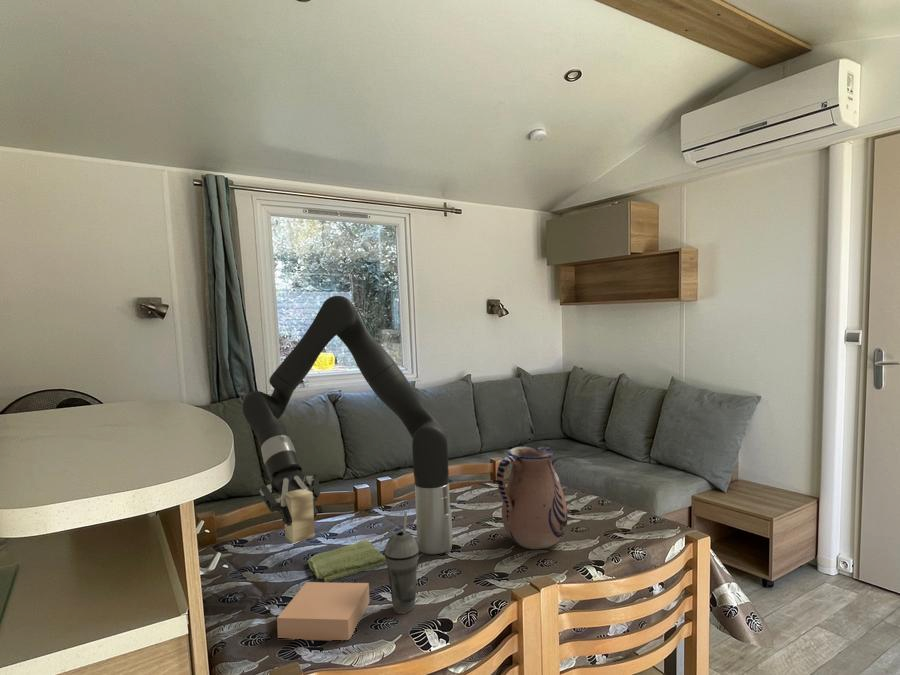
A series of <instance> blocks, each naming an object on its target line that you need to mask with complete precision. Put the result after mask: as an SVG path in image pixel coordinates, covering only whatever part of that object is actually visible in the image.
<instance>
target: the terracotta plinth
mask: <svg viewBox="0 0 900 675" xmlns="http://www.w3.org/2000/svg"><path fill="white" fill-rule="evenodd" d="M369 604H370V583H369V582H325V581H324V582H318V581H316V582H315V581H314V582H313V581H309V582H308V581H306V582H305V583H304V585H303V586H302V587H301V588H300V589H299V591H298V592H297V593H296V594H295V596H294V597H293V598H292V599H291V600H290V601H289V603H288V604H287V605H286V606H285V608H284V609H283V610H282V611H281V612H280V614H279V615H278V616H277V617H276V625H277V628H276V629H277V639H278V638H289V639H288V640H295V639H302V640H303V639H304V640H305V641H329V642H330V641H332V640H342V641H341V642H344V641H343V640H349V639H350V640H351V638H352V636H353V634H354V633H355V630H356V629H355V628H357V627H358V625H357V624H359V623H358V622H360V621H361V619H362V617H363V615H364V613H365V612H366V609H367V608H368V606H369ZM359 620H360V621H359ZM356 626H357V627H356ZM350 637H351V638H350ZM290 638H291V639H290ZM302 640H301V641H302ZM350 640H349V641H350Z"/></svg>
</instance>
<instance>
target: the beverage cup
mask: <svg viewBox="0 0 900 675" xmlns="http://www.w3.org/2000/svg"><path fill="white" fill-rule="evenodd" d="M403 514H404V515H403V516H404V517H403V527H402V529H403V530H402V531H399V532H395V533H393V534H392V535H391V536H390V537H389V539H388V540H387V542H386V544H385V548H384V553H383V555H384V556H385V558H386V561H385V563H386V565H387V572H388V573H387V574H388V579H389V580H388V581H389V588H390V595H391V603H392V608H393V611H394V610H395V611H397V612H407V611H410V610H412V609H413V608H414V607H416V595H417V592H416V591H417V572H418V571H417V570H418V568H417V567H418V561H419V553H420V551H419V549H418V545H417V539H415V537H414V536H413V535H412V534H410V533H409V532H406V529H407V520H408V519H407V518H408V511H407V510H406V511H405V510H404V513H403ZM414 609H415V608H414ZM414 609H413V610H414ZM413 610H412V611H413ZM395 611H394V612H395ZM397 612H396V613H397Z"/></svg>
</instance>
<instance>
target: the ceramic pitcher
mask: <svg viewBox="0 0 900 675" xmlns="http://www.w3.org/2000/svg"><path fill="white" fill-rule="evenodd" d="M507 454H508V456H505V457H504V458H503V459H502V460H501V461H499V462H498V468H497V469H496V482H497V486H498V491H499V494H500V496H501V498H502V504H501V521H502V524H503V527H504V529H505V531H506V533H507V535H508V536H509V537H510V539H511V540H512V541H513V542H515V544H517V545H519V546H521V547H522V548H525V549H530V550H541V549H542V550H543V549H548V548H550V547H553V546H554V545H555V544H557V543H558V542H559V541H560V540H561V539H562V537H563V536H564V534H565V531H566V529H567V526H568V521H569V520H568V517H569V516H568V507H567V502H566V499H565V494H564V492H563V488H562V486H561V482H560V478H559V476H558V474H557V472H556V471H555V468H554V466H553V464H552V463H553V462H552V461H553V460H552V459H553V458H554V455H555V453H554V452H553V451H551V448H550V447H549V446H538V447H537V448H533V447H531V446H526V445H524V446H516V447H512V448H511V449H508V450H507ZM510 465H512V466H511V470H510V473H509V478H508V481H507V484H506V481H505V474H506V471H507V469H508V466H510Z"/></svg>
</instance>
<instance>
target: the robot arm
mask: <svg viewBox="0 0 900 675" xmlns="http://www.w3.org/2000/svg"><path fill="white" fill-rule="evenodd" d="M336 336H337V337H338V339H340V341H342V343H343V344H344V345H345V346H346V348H347V349H348V351H349V352H350V353H351V356H352V358H353V360H354V362H355V364H356V366H357V368H358V369H359V372H360V373H361V374H362V377H363V378H364V380H365V381H366V383H367V384H368V386H369V387H370V389H372V391H373V392H374V394H375V395H376V396H377V397H378V399H379V400H380V401H382V403H384V405H385V406H387V408H388V409H389V410H390V411H392V412H393V413H394V414H395V415H396V416H397V417H398V418H399V420H400V421H401V422H402V423H403V425H404V427H405V428H406V430H407V431H408V433H409V435H410V437H411V438H412V440H411V441H412V442H411V444H412V447H411V448H412V465H413V466H412V468H413V469H412V471H413V477H414V495H415V496H414V497H415V498H414V499H415V520H416V521H415V522H416V523H415V524H416V525H415V526H416V542H417V545H418V549H419V553H422V554H426V555H438V554H444V553H450V552H451V550H452V547H453V543H454V540H453V519H452V518H453V516H452V508H451V501H450V479H449V478H450V477H449V476H450V474H449V454H448V453H449V449H448V435H447V432H446V431H445V429H444V427H443V426H442V425H441V424H440V423H439V422H438V421H437V420H436V418H434V417H433V415H432V414H431V413H430V412H429V410H428V409H427V408H426V407H425V406H424V405H423V403H422V402H421V401H420V398H418V396H417V394H416V392H415V390H414V388H413V387H412V385H411V383H410V382H409V380H408V378H407V377H406V376H405V374H404V373H403V371H402V370H401V369H400V367H399V366H398V364H397V363H396V361H395V360H394V359H393V358H392V357H391V356H390V354H389V353H388V352H387V351H386V349H385V348H384V347H383V346H382V345H381V344H380V343H379V342H378V341H377V340H376V339H375V337H373V335H372V334H371V332H370V331H369V329H368V328H367V326H366V325H365V322H364V321H363V320H362V318H361V316H360V314H359V313H358V310H357V308H356V306H355V305H354V304H353V302H352V301H351V300H350V299H349V298H347V297H345V296H342V295H332V296H330V297H328V298H327V299H326V300H325V301H323V303H322V305H321V307H320V308H319V311H318V312H317V314H316V316H315V317H314V319H313V321H312V323H310V326H309V328H308V329H307V330H306V332H305V333H304V335H303V336H302V337H301V339H300V340H299V341H298V342H297V343H296V345H295V347H293V349H291V351H290V352H289V354H287V356H286V357H285V358H284V359H283V361H282V362H281V363H280V364H279V366H278V367H277V368H276V369H275V371H273V373H272V374H271V376H270V377H269V380H268V382H269V384H270V386H272V388H273V391H272V393H271V394H268V393H265V392H264V391H263V392H262V391H259V390H253V391H250V392H249V393H248V394H246V395H245V397H244V399H243V401H242V406H241V408H242V414H243V416H244V418H245V420H246V422H247V423H248V425H249V427H250V428H251V430H252V431H253V432H254V433H255V435H256V437H257V440H258V443H259V447H260V451H261V454H262V455H261V456H262V458H263V459H262V460H263V463H264V466H265V469H266V472H267V475H268V478H269V481H270V483H269V484H267V485H266V484H262V485H261V487H260V490H259V492H258V494H259V495H260V497H261V498H262V500H263V501H264V502H263V503H264V504H265V505H266V506H267V508H268V510H269V511H270V512H271V513H274V512H279V513H280V514H279V515H280V516H281V520H282V522H283V524H284V525H285V524H287V526H290V525H291V523H292V518H291V515H290V512H289V509H288V506H287V507H286V500H285V494H286V493H288V492H290V491H294V490H298V489H302V490H303V489H307V490H309V487H307V485H306V482H307V483H308V485H309V486H310V488H311V492H312V493H313V510H314V520H315V518H316V517H317V514H318V508H317V505H316V502H317V501H318V500H319V497H320V495H321V488H320V481H319V474H318V473H313V475H307V474H306V473H304V470H303V469H302V468H303V467H302V465H301V463H300V460H299V457H298V454H297V452H296V449H295V446H294V444H293V442H292V441H291V438H290V436H289V434H288V431H287V427H286V425H285V424H284V423H283V421H281V420H280V418H281V417H282V416H283V414H284V413H285V411H286V409H287V407H288V404H289V402H290V399H291V398H292V396H293V393H294V392H295V390H296V389H297V387H298V386H299V385H300V384H301V383H302V381H303V380H304V379H305V377H306V376H307V375H308V374H309V373H310V371H311V369H312V368H313V366H314V364H315V362H316V361H317V360H318V359H319V357H320V354H321V353H322V352H323V351H324V349H325V348H326V347H327V345H328V344H329V343H330V342H331V341H332V340H333V339H334V338H335V337H336ZM272 491H274V492H275V493H277V494H278V495H279V497H278V498H279V499H278V501H277V500H276V499H275V496H274V495H273V494H272ZM309 491H310V490H309Z"/></svg>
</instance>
